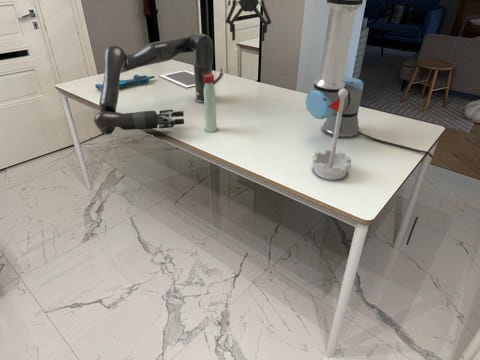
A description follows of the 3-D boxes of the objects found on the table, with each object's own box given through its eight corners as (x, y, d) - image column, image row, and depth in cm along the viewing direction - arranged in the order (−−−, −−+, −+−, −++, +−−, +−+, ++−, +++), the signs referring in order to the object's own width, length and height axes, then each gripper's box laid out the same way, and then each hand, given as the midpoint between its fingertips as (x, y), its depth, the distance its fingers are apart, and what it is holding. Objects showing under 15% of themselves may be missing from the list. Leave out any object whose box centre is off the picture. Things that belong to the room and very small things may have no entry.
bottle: (218, 130, 151) (216, 76, 138) (209, 132, 148) (206, 78, 135) (213, 126, 154) (210, 74, 141) (204, 129, 152) (200, 76, 139)
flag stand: (334, 159, 128) (348, 80, 112) (356, 176, 118) (375, 92, 101) (304, 166, 124) (314, 84, 108) (324, 184, 114) (338, 97, 97)
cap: (216, 82, 139) (215, 75, 138) (207, 84, 137) (206, 77, 135) (210, 79, 142) (210, 73, 140) (201, 81, 140) (201, 75, 138)
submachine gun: (140, 69, 223) (158, 75, 206) (141, 75, 225) (159, 81, 208) (87, 79, 204) (103, 87, 188) (89, 85, 206) (105, 94, 190)
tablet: (159, 76, 220) (159, 75, 220) (185, 70, 231) (185, 69, 231) (186, 88, 199) (186, 87, 199) (214, 81, 210) (214, 80, 210)
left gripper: (147, 121, 152) (184, 119, 154) (145, 135, 140) (185, 132, 142) (145, 105, 148) (182, 103, 150) (142, 118, 136) (183, 115, 138)
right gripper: (279, -14, 145) (276, 39, 156) (221, -14, 148) (223, 38, 160) (277, -12, 138) (274, 42, 150) (218, -13, 142) (219, 41, 154)
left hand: (183, 117), depth 146 cm, fingers open, 8 cm apart
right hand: (248, 40), depth 155 cm, fingers open, 13 cm apart
